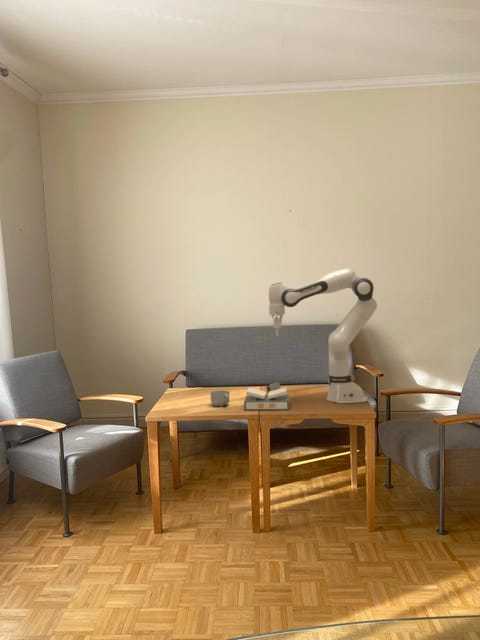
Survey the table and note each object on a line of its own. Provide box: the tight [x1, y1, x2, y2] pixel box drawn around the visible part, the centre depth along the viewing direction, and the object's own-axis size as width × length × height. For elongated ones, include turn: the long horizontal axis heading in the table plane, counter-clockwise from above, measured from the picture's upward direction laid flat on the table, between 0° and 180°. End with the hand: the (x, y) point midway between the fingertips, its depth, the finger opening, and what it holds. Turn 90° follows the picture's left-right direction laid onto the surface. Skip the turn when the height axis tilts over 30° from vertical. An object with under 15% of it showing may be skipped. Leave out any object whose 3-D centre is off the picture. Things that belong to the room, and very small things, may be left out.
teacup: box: [209, 389, 230, 407], centre depth 307 cm, size 14×11×8 cm
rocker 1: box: [245, 387, 267, 399], centre depth 301 cm, size 10×11×2 cm
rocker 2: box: [267, 386, 288, 399], centre depth 299 cm, size 10×11×2 cm
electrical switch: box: [265, 381, 282, 395], centre depth 320 cm, size 9×5×9 cm, turn 141°
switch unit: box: [243, 394, 291, 412], centre depth 300 cm, size 24×14×7 cm, turn 84°
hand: (277, 335), depth 315 cm, fingers open, 8 cm apart
